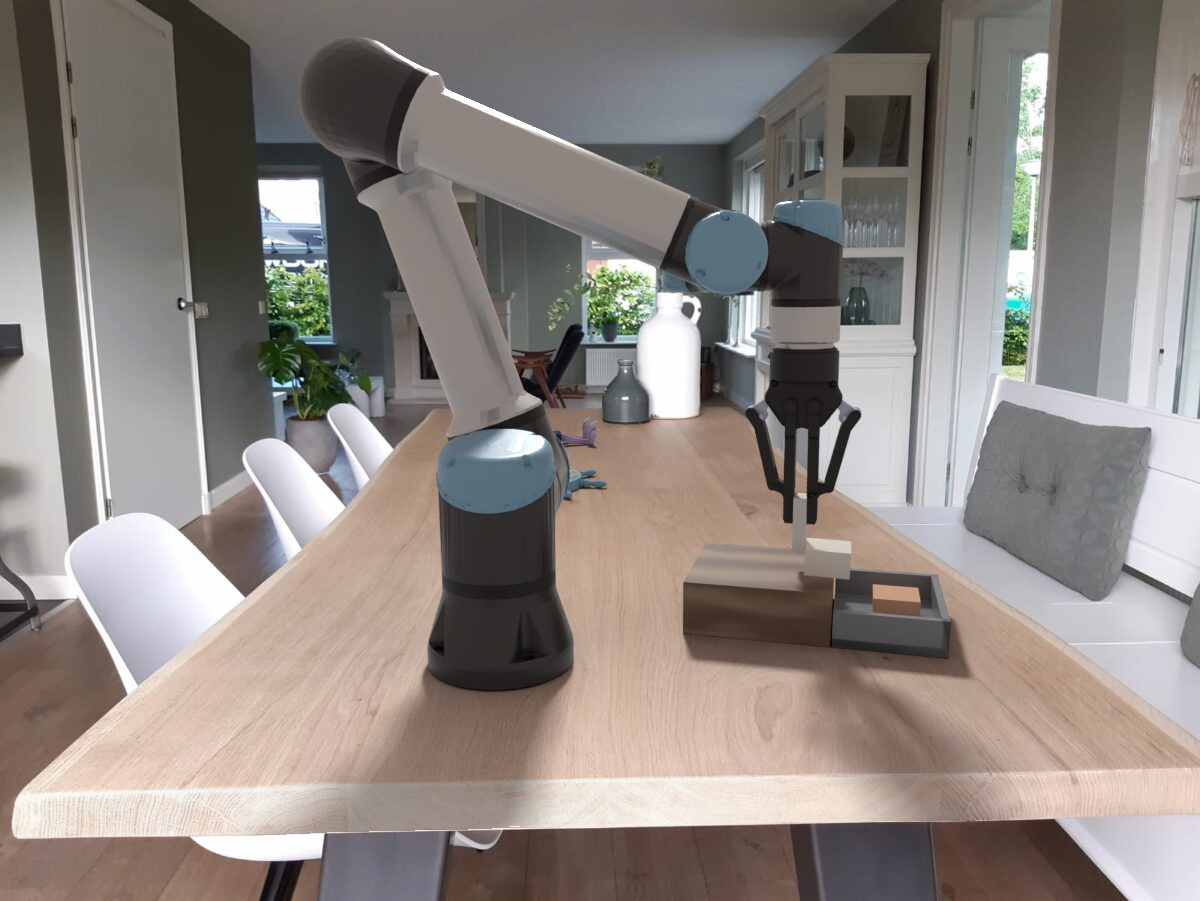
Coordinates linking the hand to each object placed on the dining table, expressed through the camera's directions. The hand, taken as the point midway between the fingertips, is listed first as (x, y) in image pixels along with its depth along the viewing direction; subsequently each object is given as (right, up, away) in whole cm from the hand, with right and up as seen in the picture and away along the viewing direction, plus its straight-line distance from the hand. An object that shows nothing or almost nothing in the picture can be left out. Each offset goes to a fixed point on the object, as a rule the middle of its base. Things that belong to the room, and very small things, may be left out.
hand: (799, 550), depth 106 cm
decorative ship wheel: (-36, +4, +72) cm, 81 cm away
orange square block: (+10, -5, -2) cm, 12 cm away
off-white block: (+3, -2, -1) cm, 4 cm away
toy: (-39, +12, +114) cm, 121 cm away
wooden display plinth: (-4, -8, +2) cm, 9 cm away
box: (+10, -8, -1) cm, 13 cm away
